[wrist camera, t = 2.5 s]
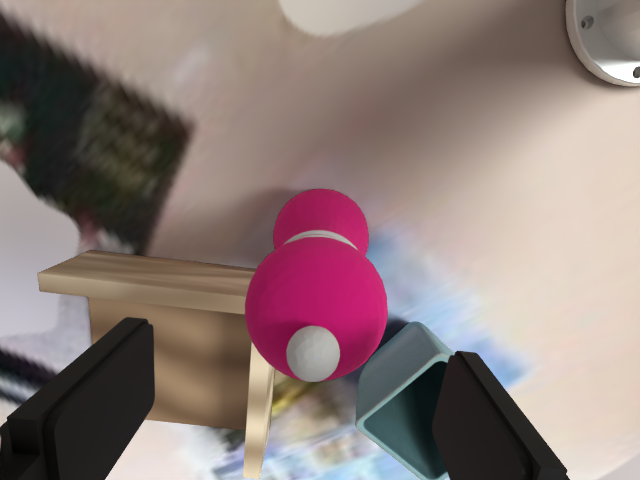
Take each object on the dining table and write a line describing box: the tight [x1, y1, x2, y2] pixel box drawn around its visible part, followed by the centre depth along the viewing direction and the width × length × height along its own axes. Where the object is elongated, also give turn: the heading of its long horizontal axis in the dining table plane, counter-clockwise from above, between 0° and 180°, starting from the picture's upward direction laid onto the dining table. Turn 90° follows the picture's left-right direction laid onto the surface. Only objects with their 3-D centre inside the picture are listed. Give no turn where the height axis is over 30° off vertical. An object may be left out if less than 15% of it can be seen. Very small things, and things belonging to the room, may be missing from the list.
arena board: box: [85, 250, 275, 430], centre depth 33 cm, size 18×18×1 cm
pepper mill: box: [245, 189, 388, 382], centre depth 20 cm, size 7×7×20 cm
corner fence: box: [37, 253, 275, 479], centre depth 30 cm, size 18×18×5 cm
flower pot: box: [355, 322, 455, 480], centre depth 28 cm, size 9×9×9 cm
